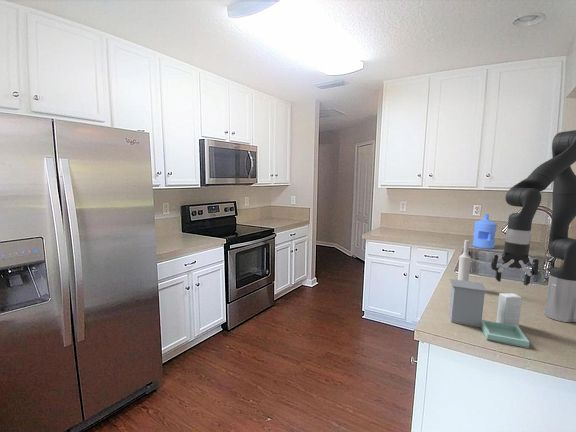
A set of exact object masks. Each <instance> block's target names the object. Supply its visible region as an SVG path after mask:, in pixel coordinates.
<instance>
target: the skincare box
mask: <svg viewBox="0 0 576 432" xmlns="http://www.w3.org/2000/svg"><path fill="white" fill-rule="evenodd" d="M522 299H523V297H522V296H520V295H518V294H516V293H511V292H510V293H504V292H503V293H501V292H500V293H498V302H497V303H498V304H497V312H496V321H495V322H497V323H503V324H509V325H515V326H518V327H519V328H520V319H521V310H522Z"/></svg>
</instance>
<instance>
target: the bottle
mask: <svg viewBox="0 0 576 432" xmlns="http://www.w3.org/2000/svg"><path fill="white" fill-rule="evenodd" d="M463 245H464V246H463V253H462V254H460V255H459V257H458V258H459V259H458V271H457V273H458V274H457V280H463V281H469V277H470V272H471V271H470V268H471V261H472V257H471V256H470V254H469V247H470V240H468V239H467V240H466V239H464V244H463Z"/></svg>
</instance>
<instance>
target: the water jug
mask: <svg viewBox="0 0 576 432" xmlns="http://www.w3.org/2000/svg"><path fill="white" fill-rule="evenodd" d="M489 215H490V214H488V213H484V215H483V217H484V218H482V219H479V220H476V221H475V222H474V225H473V226H474V229H473V240H472V247H475V248H476V249H477V248H478V249H485V250H492V249H495V244H496V242H495V241H496V240H495V238H496V237H495V235H496V232H497V228H498V226H497V225H498V224H497V223H496V222H494V221H493V220H491V219H489Z"/></svg>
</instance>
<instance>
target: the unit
mask: <svg viewBox="0 0 576 432" xmlns="http://www.w3.org/2000/svg"><path fill="white" fill-rule="evenodd" d="M450 284H451V288H450V289H451V290H450V299H449V307H448V308H449V309H448V316H449V319H450V322H451V323H455V324H461V325H466V326H471V327H477V328H481V322H482V320H483V312H484V311H483V310H484V304H485V295H486V293H488V289H487V288H486V286H485V285H484V284H483V282H478V281H469V280H468V281H463V280H458V279H455V278H450Z"/></svg>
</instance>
